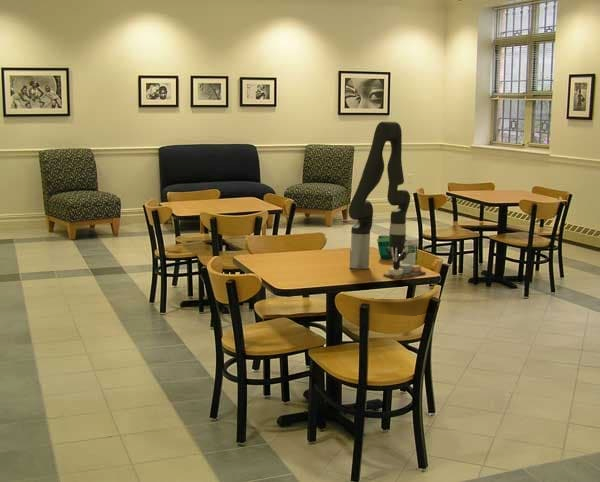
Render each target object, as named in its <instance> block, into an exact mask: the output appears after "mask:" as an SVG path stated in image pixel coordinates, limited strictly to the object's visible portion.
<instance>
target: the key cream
mask: <svg viewBox="0 0 600 482" xmlns="http://www.w3.org/2000/svg"><path fill="white" fill-rule="evenodd" d="M387 273H390V275H394V276H399V275H401V274H403V269H397V270H395V269H394V268H393V267H392V268H388V272H387Z"/></svg>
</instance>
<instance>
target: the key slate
mask: <svg viewBox="0 0 600 482" xmlns="http://www.w3.org/2000/svg"><path fill="white" fill-rule="evenodd" d="M399 269H403V273H405V274H406V273H411V269H412V265H409V264H402V263H400V268H399Z"/></svg>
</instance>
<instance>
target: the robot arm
mask: <svg viewBox="0 0 600 482" xmlns="http://www.w3.org/2000/svg"><path fill="white" fill-rule="evenodd" d="M374 130H375V131H374V132H373V139H372V143H371V147H370V150H369V153H368V157H367V159H366V163H365V165H364V168H363V170H362V174H361V177H360V180H359V182H358V186H357V188H356V191H355V192H354V195H353V197H352V199H351V201H350V203H349V207H348V215H349V217H350V219H352V220H353V221H357V222H356V223H355V224H354V225H353V226H351V231H350V233H351V236H350V249H349V269H350V268H351V269H355V270H365V269H369V267H370V249H371V248H370V245H371V243H370V241H371V229H372V226H373V218H374V217H373V216H374V208H373V204H372V203H371V201H369V200H367V199H368V197H369V195H370V194H371V193H372V192H373V191H374V190H375V188H376V187H377V186H378V185H379V183H380V181H381V180H382V178H383V175H384V170H385V161H384V155H383V152H384V148H385V146H386V145H385V144H386V143H387V142H390V147H391V151H390V156H389V159H388V162H387V168H386V170H387V178H388V187H387V202H388V204H389V205H391V206H393V207H394V206H395V207H396V206H397V208H396V209H394V210H392V211H391V212H390V222H389V223H390V224H389V234H388V236H389V242H390V245H389V247H388V248H386V252H387V254H388V256H389V258H390V259H391V260H392V263H393V264H392V268H394V269H395V270H397V269H399V268H400V264H401V262H402V261H403V260H404V259H405V257H406V256H407V255H408V253H409V252H408V251H406V250H405V246H404V244H405V240H406V238H407V237H406V235H407V226H406V225H407V224H406V222H407V220H406V219H407V212H408V209H409V205H410V204H411V195H410V192H409V191H408V190H407V189H398V188H399V186H401V185H404V183H405V177H404V170H403V164H402V161H403V159H402V152H403V151H402V150H403V149H402V145H403V144H402V143H403V140H402V138H403V137H402V127H401V125H400V123H398V122H396V121H387V120H383V121H380V122H379V123H378V124H377V125H376V127H375V129H374Z"/></svg>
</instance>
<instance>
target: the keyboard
mask: <svg viewBox="0 0 600 482" xmlns="http://www.w3.org/2000/svg"><path fill="white" fill-rule="evenodd" d="M426 274H427V272H426V271H424V270H420V271H419V272H415V273H414V272H411V273H406V274H405V273H403V274H401V275H399V276H394V275H390V273H388V272H387V273H383V277H384V276H387V277H386V278H388V277H390V278H389V279H393V280H397V281H398V280H403V279H408V278H414V277H419V276H424V275H426Z"/></svg>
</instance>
